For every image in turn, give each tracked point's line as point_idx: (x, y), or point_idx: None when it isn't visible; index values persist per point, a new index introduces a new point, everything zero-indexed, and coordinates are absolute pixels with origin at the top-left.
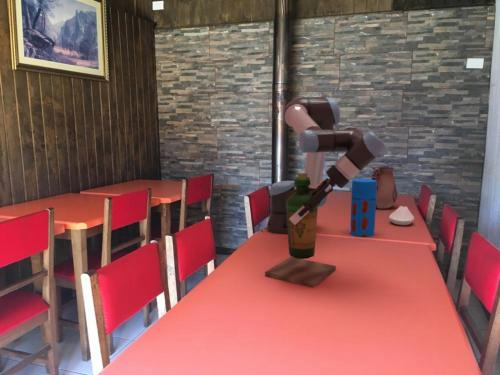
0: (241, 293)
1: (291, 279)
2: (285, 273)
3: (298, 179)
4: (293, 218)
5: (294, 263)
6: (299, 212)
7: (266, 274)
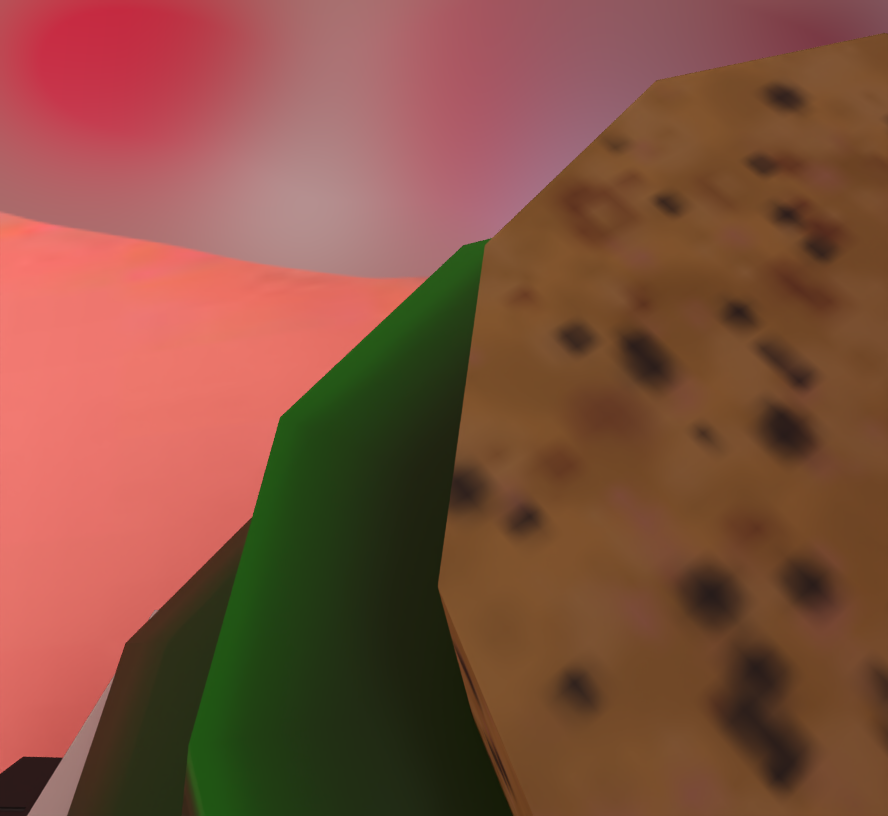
0: (23, 459)
1: None
2: None
3: (327, 400)
4: None
5: None
6: (3, 792)
7: None
